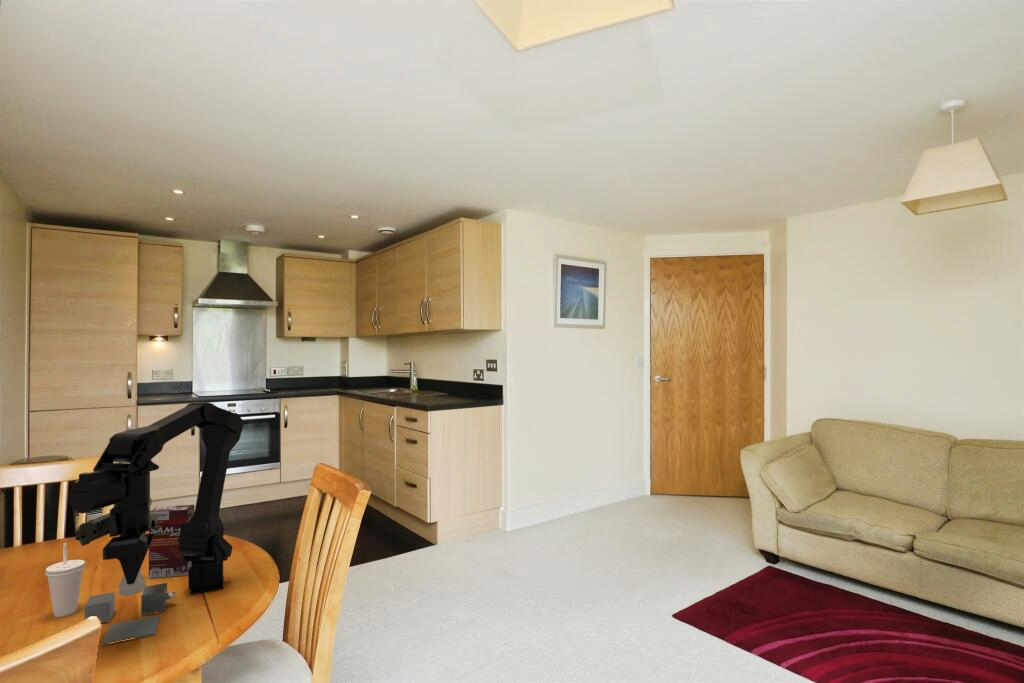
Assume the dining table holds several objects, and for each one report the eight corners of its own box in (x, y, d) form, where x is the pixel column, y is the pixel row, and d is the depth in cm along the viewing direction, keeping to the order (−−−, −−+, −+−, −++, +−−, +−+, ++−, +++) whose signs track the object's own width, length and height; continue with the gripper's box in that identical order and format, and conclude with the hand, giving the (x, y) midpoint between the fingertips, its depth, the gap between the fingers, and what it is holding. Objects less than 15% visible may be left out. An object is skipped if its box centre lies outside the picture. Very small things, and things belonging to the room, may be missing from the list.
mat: (159, 617, 109) (159, 615, 110) (154, 635, 102) (154, 632, 102) (110, 626, 106) (110, 624, 106) (102, 646, 99) (102, 643, 99)
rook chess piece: (151, 586, 107) (151, 544, 107) (136, 596, 102) (136, 553, 102) (128, 586, 107) (128, 545, 107) (112, 596, 102) (111, 553, 102)
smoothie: (80, 602, 117) (80, 536, 117) (89, 611, 113) (89, 542, 113) (41, 614, 112) (42, 545, 112) (49, 623, 108) (49, 551, 108)
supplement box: (147, 579, 129) (147, 511, 129) (156, 571, 133) (156, 506, 134) (187, 575, 130) (187, 509, 131) (195, 568, 135) (195, 503, 135)
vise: (176, 600, 117) (176, 581, 117) (173, 609, 113) (173, 589, 113) (90, 616, 110) (90, 596, 111) (84, 626, 106) (84, 606, 106)
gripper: (91, 493, 109) (91, 571, 109) (66, 517, 93) (66, 609, 92) (157, 485, 114) (157, 560, 114) (144, 507, 98) (144, 595, 98)
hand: (132, 580), depth 104 cm, fingers closed on rook chess piece, 3 cm apart
